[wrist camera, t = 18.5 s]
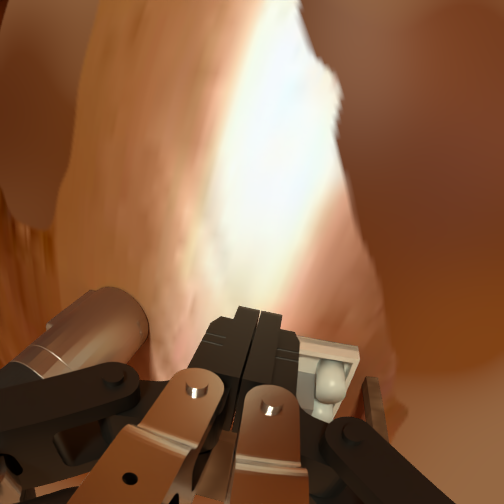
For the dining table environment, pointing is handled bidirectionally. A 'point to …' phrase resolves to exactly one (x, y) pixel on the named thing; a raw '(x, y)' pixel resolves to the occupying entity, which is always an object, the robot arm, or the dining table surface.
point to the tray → (328, 353)
